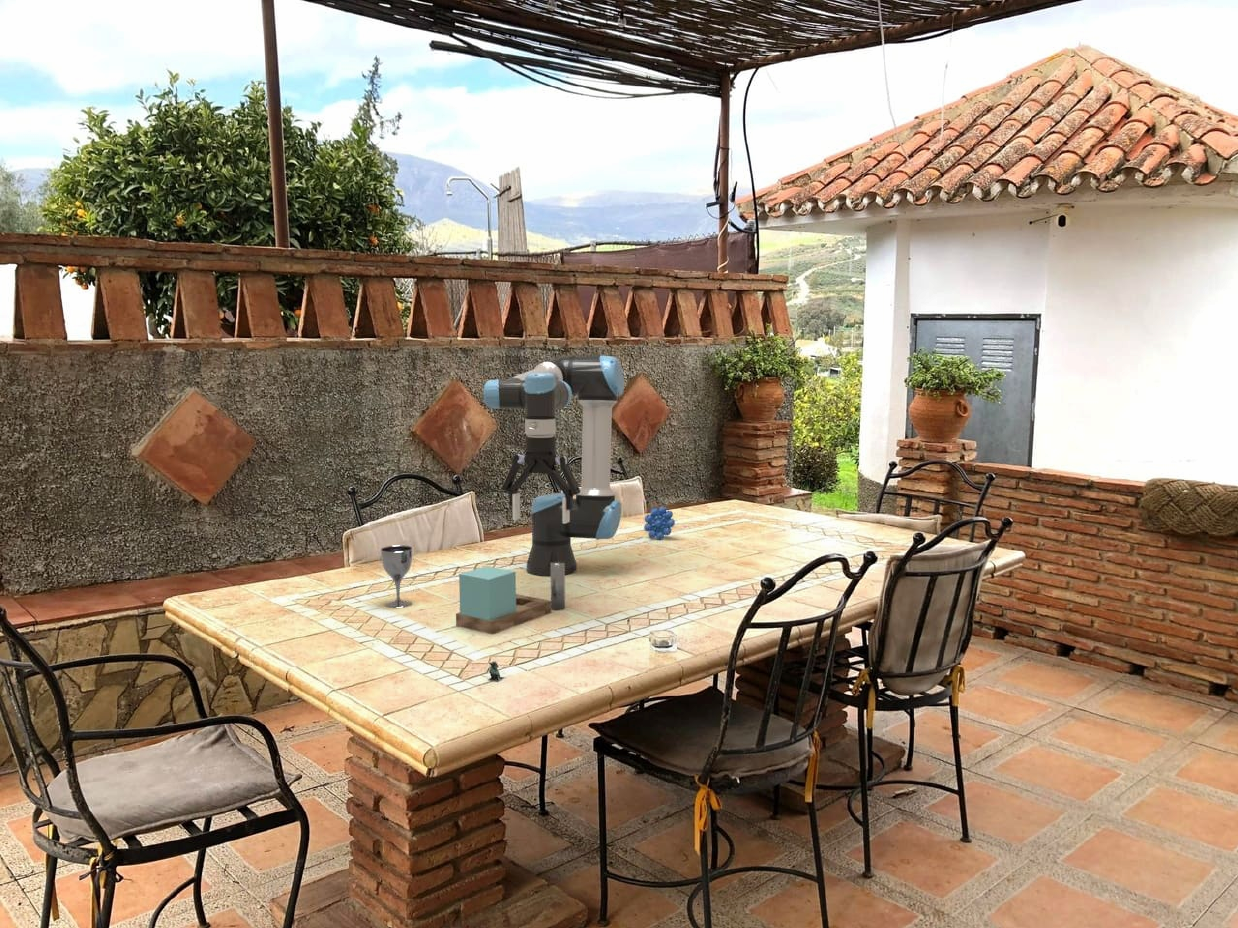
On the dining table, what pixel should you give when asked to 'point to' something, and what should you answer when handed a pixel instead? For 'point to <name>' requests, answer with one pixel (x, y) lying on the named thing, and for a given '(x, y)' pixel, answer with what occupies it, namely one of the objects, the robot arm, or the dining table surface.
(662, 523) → the grapes
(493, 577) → the teal cube block
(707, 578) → the dining table surface
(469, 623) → the board
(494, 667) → the sculpture
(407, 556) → the wine glass
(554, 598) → the pin
